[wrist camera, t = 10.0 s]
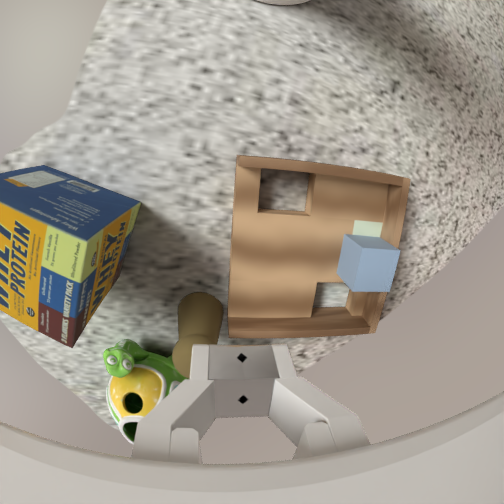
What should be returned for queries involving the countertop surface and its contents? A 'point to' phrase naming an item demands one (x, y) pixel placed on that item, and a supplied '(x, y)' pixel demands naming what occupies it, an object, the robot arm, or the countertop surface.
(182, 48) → the countertop surface
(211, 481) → the robot arm
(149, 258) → the countertop surface
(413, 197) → the countertop surface
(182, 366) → the cork
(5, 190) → the protein box
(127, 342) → the turtle holder
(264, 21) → the countertop surface
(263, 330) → the tray
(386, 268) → the slate block
